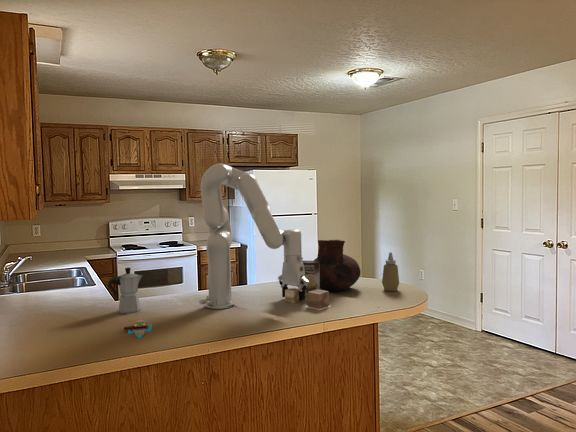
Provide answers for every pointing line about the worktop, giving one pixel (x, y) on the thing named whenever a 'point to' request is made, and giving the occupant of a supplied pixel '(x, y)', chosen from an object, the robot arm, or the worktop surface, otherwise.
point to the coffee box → (312, 275)
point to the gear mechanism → (141, 326)
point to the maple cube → (292, 295)
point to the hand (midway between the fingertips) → (293, 298)
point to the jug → (336, 266)
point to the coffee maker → (127, 291)
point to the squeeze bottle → (390, 274)
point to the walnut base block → (318, 299)
